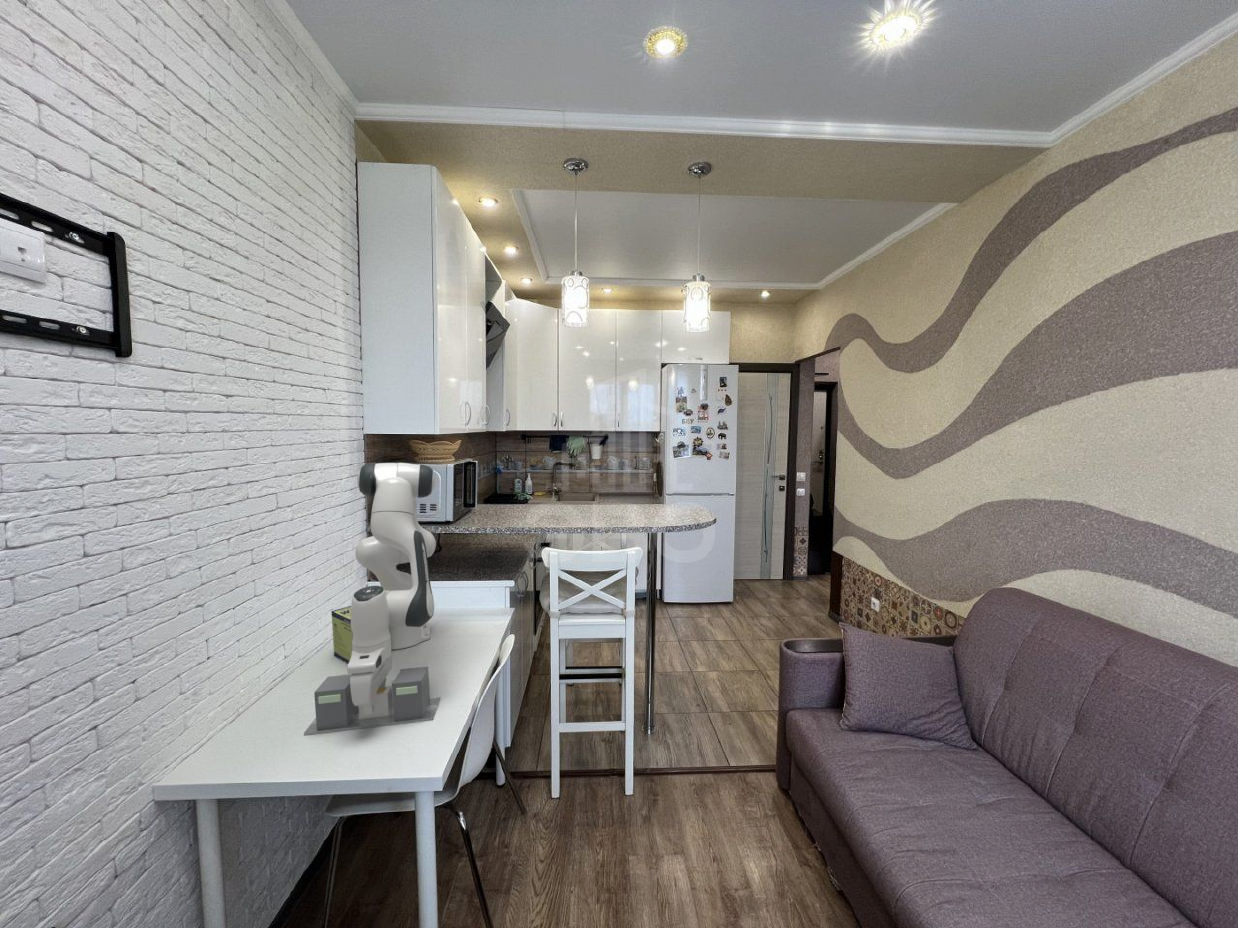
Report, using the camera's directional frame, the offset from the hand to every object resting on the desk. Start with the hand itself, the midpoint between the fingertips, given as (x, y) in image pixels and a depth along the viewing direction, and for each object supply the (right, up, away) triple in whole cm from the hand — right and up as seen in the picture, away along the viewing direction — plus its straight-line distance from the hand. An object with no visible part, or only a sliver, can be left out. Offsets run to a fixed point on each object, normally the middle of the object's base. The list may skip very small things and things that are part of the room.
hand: (375, 703), depth 127 cm
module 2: (+9, -3, +2) cm, 10 cm away
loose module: (0, -3, 0) cm, 3 cm away
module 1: (-9, -4, -1) cm, 10 cm away
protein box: (-23, -2, +37) cm, 44 cm away
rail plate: (0, -3, 0) cm, 3 cm away
